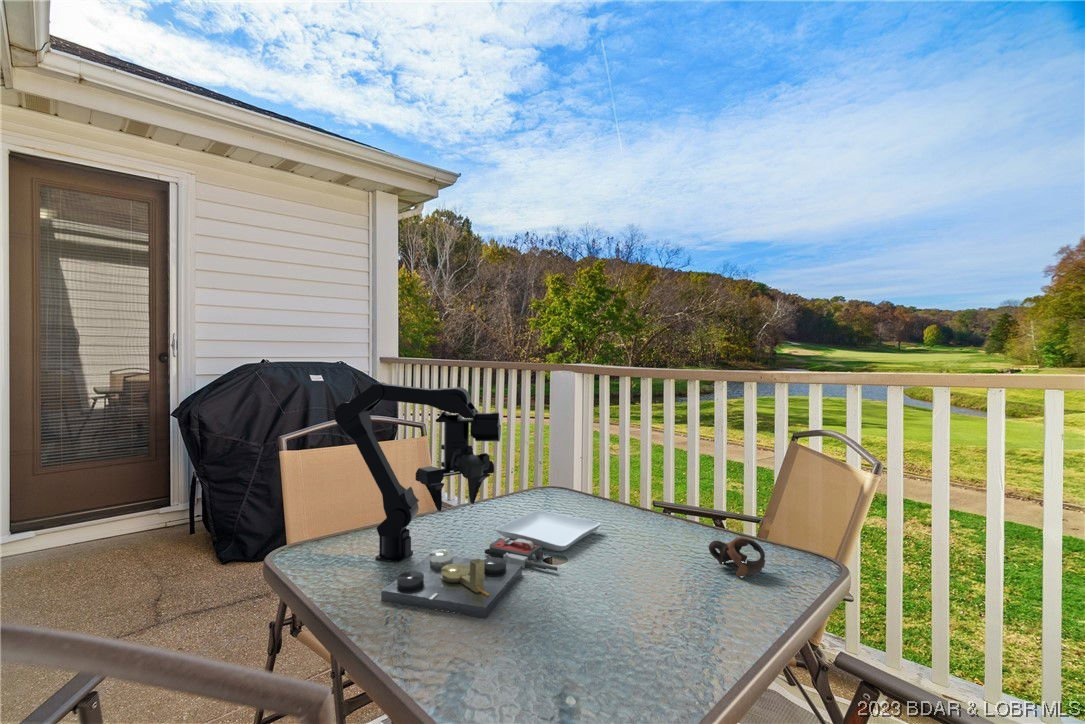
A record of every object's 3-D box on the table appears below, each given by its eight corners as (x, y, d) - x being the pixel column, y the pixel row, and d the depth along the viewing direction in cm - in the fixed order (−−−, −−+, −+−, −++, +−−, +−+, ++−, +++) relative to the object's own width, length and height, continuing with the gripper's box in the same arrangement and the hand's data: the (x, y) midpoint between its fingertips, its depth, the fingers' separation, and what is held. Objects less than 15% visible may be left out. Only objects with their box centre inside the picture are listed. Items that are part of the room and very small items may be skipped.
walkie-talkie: (478, 560, 122) (555, 577, 113) (478, 541, 122) (555, 557, 113) (498, 548, 130) (571, 563, 121) (498, 530, 130) (571, 544, 121)
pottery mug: (757, 564, 121) (768, 541, 117) (756, 598, 114) (769, 573, 109) (705, 546, 125) (714, 522, 120) (701, 577, 117) (711, 553, 113)
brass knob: (435, 575, 107) (435, 548, 107) (460, 567, 111) (461, 541, 111) (466, 596, 98) (466, 566, 98) (492, 587, 102) (492, 559, 102)
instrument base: (379, 601, 100) (379, 576, 100) (432, 561, 120) (432, 540, 120) (484, 619, 94) (484, 592, 94) (521, 574, 113) (522, 551, 113)
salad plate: (602, 533, 141) (603, 521, 141) (564, 559, 123) (564, 545, 123) (537, 520, 152) (537, 508, 152) (493, 541, 134) (493, 528, 134)
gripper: (440, 450, 110) (440, 523, 110) (509, 441, 123) (508, 506, 123) (414, 443, 118) (414, 511, 118) (480, 435, 131) (480, 497, 131)
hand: (456, 507), depth 122 cm, fingers open, 9 cm apart
